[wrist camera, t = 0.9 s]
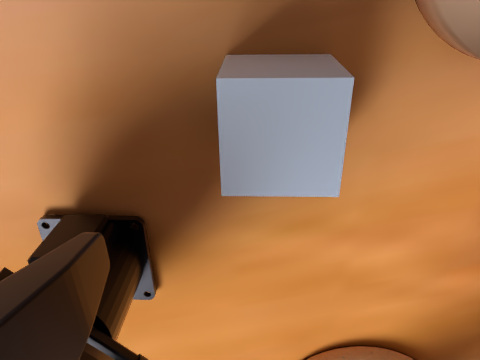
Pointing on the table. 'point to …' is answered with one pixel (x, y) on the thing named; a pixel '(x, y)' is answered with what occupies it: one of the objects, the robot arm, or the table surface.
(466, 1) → the brown disc
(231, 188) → the blue cube
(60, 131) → the table surface
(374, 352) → the candle holder
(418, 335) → the table surface
